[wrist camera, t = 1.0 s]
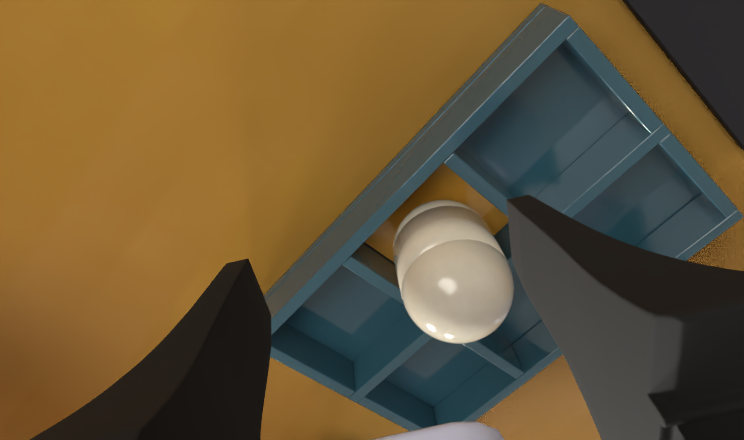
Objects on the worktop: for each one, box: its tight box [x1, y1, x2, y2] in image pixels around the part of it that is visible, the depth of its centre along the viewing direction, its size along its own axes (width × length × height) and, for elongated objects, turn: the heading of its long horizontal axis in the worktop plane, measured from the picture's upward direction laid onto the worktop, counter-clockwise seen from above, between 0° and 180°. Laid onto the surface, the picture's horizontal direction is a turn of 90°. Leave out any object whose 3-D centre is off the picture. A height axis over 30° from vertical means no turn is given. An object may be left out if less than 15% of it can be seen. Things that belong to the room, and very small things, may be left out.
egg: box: [393, 200, 514, 344], centre depth 22 cm, size 4×4×7 cm
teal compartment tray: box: [264, 3, 744, 431], centre depth 26 cm, size 13×20×3 cm
